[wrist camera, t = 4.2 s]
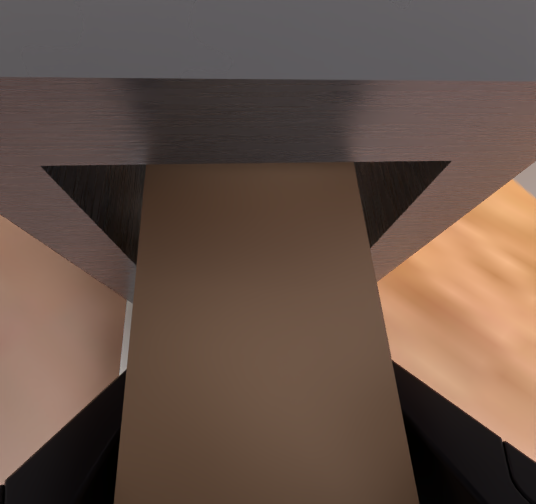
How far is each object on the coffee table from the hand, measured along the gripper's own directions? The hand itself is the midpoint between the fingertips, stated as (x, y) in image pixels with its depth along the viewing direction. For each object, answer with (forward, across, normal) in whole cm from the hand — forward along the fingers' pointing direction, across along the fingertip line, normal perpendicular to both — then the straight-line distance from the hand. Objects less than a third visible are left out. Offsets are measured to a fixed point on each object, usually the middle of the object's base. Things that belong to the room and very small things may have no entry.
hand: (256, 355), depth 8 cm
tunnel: (+7, 0, 0) cm, 7 cm away
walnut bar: (+5, 0, +2) cm, 6 cm away
